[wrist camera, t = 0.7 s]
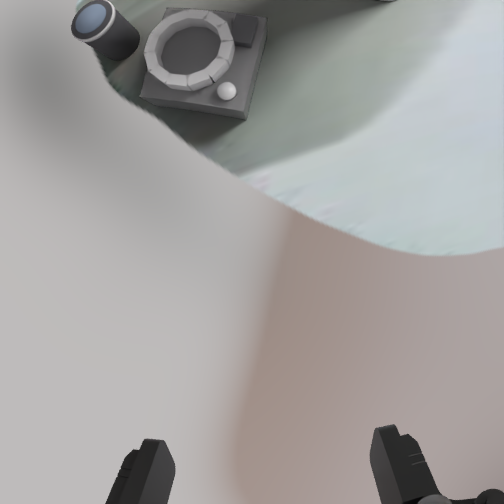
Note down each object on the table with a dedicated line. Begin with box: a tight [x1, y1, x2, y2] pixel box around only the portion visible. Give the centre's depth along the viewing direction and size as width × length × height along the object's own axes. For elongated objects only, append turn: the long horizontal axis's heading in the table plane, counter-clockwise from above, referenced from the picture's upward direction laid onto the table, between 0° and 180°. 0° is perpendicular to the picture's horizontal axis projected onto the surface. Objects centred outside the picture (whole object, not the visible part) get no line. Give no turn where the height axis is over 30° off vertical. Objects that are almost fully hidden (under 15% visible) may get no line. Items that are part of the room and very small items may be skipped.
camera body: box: [140, 8, 267, 120], centre depth 27 cm, size 10×10×7 cm
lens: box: [71, 0, 140, 60], centre depth 25 cm, size 5×5×8 cm
